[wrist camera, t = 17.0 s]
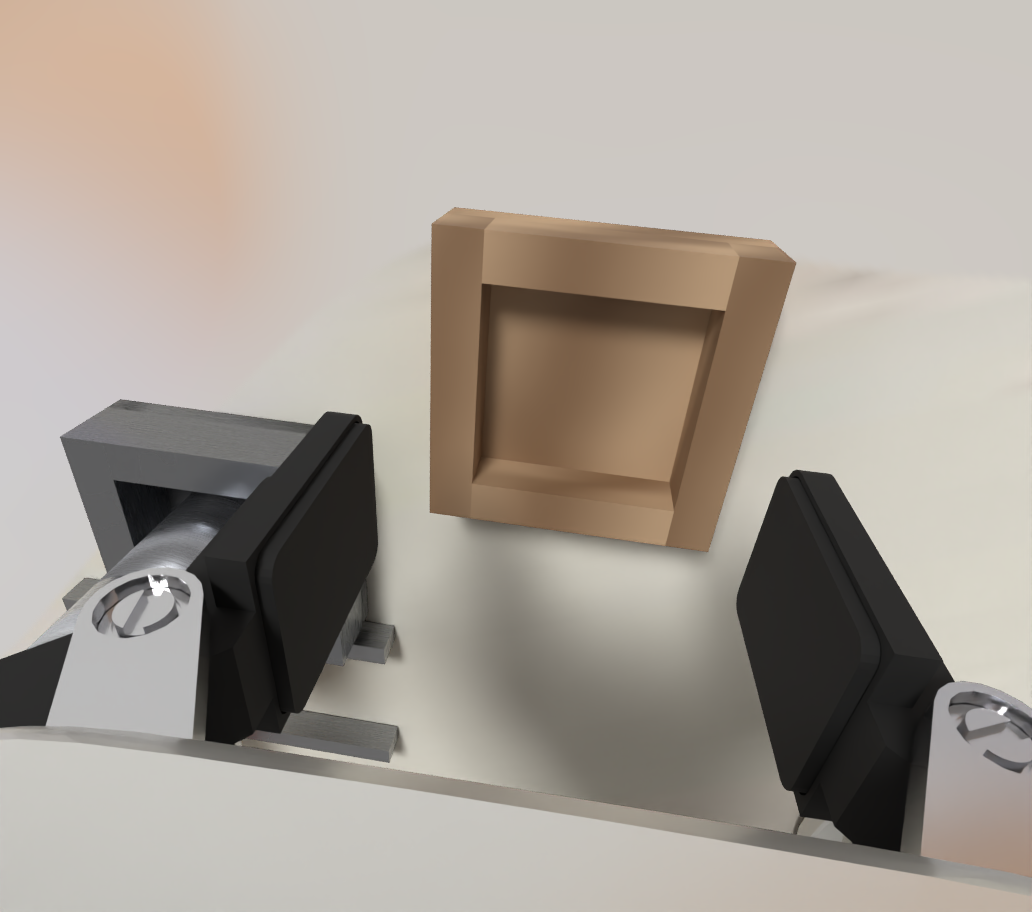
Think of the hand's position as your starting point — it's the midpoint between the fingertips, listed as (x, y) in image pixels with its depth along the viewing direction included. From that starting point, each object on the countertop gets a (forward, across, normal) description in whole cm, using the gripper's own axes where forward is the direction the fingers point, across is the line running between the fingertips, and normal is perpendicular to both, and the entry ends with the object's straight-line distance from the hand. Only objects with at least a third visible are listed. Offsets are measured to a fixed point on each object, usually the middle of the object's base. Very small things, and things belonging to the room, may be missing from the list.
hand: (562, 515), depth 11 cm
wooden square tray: (+8, 0, 0) cm, 8 cm away
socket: (+8, +11, +7) cm, 15 cm away
